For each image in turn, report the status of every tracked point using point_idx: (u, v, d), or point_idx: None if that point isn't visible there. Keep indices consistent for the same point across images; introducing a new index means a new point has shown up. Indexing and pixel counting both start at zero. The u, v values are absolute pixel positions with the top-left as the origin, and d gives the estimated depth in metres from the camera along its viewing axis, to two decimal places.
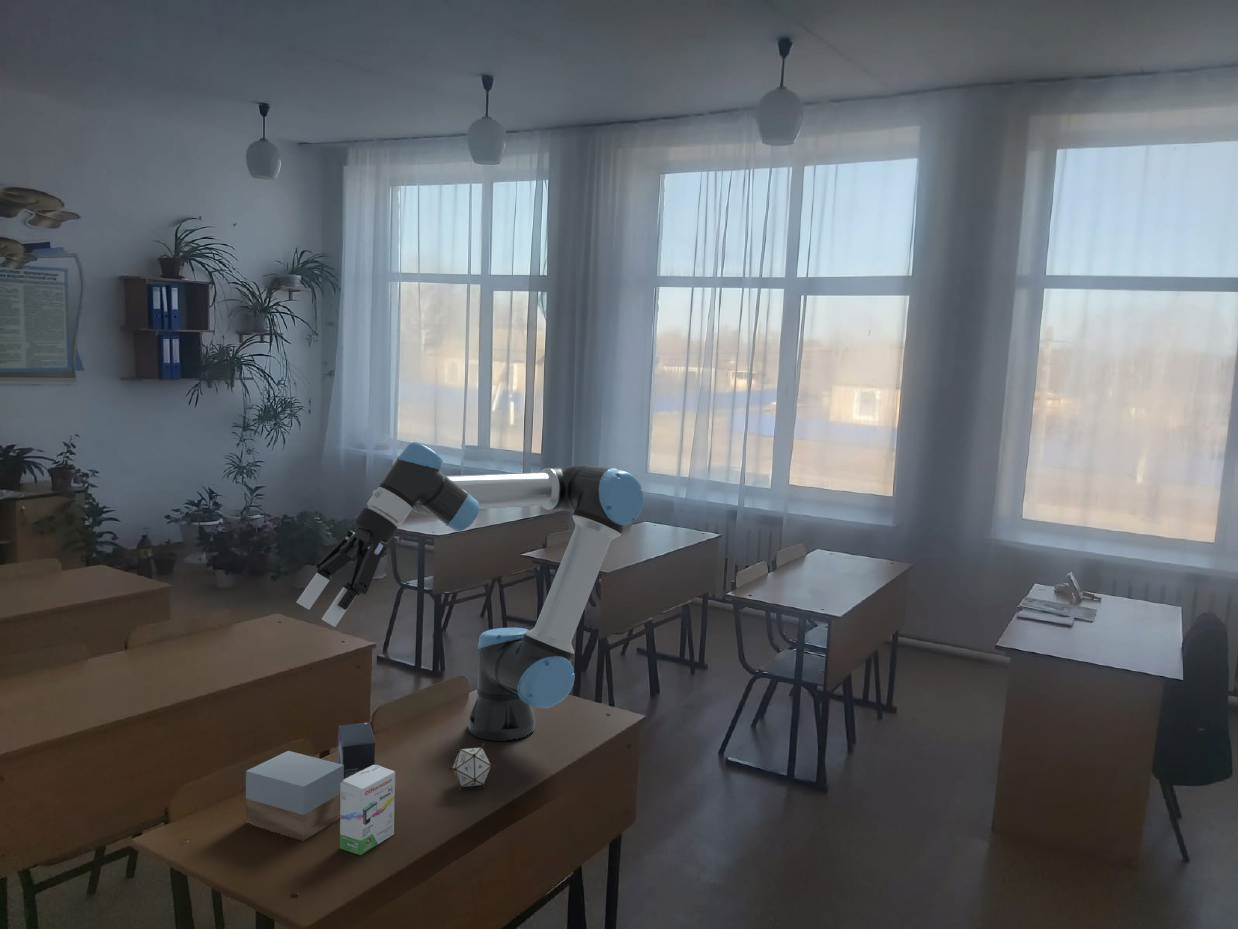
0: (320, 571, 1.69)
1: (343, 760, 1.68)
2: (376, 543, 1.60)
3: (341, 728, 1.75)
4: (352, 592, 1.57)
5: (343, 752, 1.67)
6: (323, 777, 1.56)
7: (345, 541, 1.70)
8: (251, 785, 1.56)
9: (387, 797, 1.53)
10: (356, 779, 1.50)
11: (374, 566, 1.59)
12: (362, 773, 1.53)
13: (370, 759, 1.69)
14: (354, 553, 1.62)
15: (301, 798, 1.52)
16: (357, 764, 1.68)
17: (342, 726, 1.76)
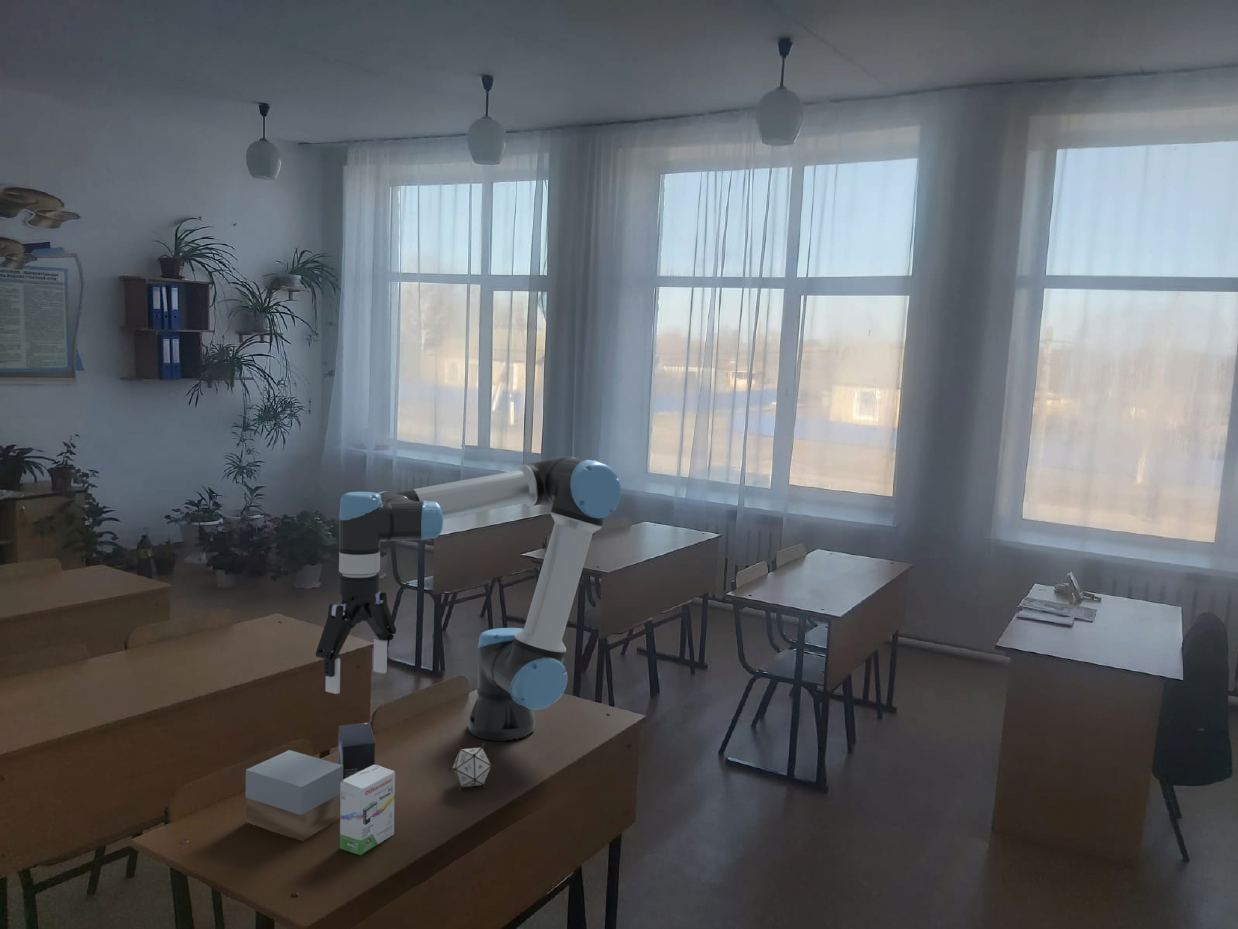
0: (377, 636, 1.78)
1: (343, 760, 1.68)
2: (329, 607, 1.65)
3: (341, 728, 1.75)
4: (326, 659, 1.64)
5: (343, 752, 1.67)
6: (322, 778, 1.55)
7: (375, 603, 1.76)
8: (250, 783, 1.56)
9: (387, 797, 1.53)
10: (356, 779, 1.50)
11: (332, 629, 1.63)
12: (362, 773, 1.53)
13: (370, 759, 1.69)
14: None
15: (299, 798, 1.51)
16: (357, 764, 1.68)
17: (342, 726, 1.76)
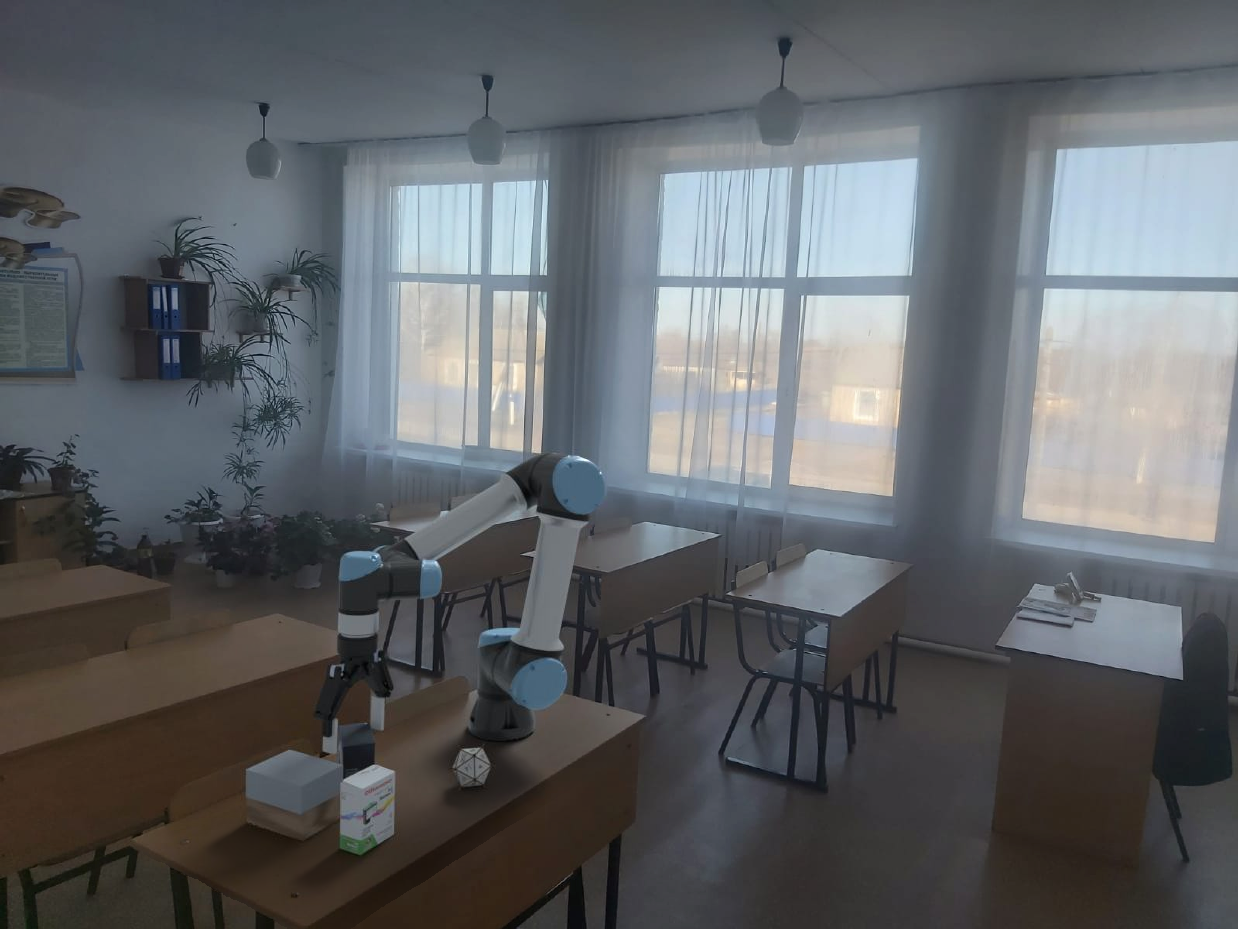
0: (375, 693, 1.79)
1: (343, 760, 1.68)
2: (328, 667, 1.66)
3: (341, 728, 1.75)
4: (323, 720, 1.65)
5: (343, 752, 1.67)
6: (322, 777, 1.56)
7: None
8: (250, 783, 1.56)
9: (387, 797, 1.53)
10: (356, 779, 1.50)
11: (330, 690, 1.64)
12: (362, 773, 1.53)
13: (370, 759, 1.69)
14: None
15: (299, 797, 1.52)
16: (357, 764, 1.68)
17: (342, 726, 1.76)
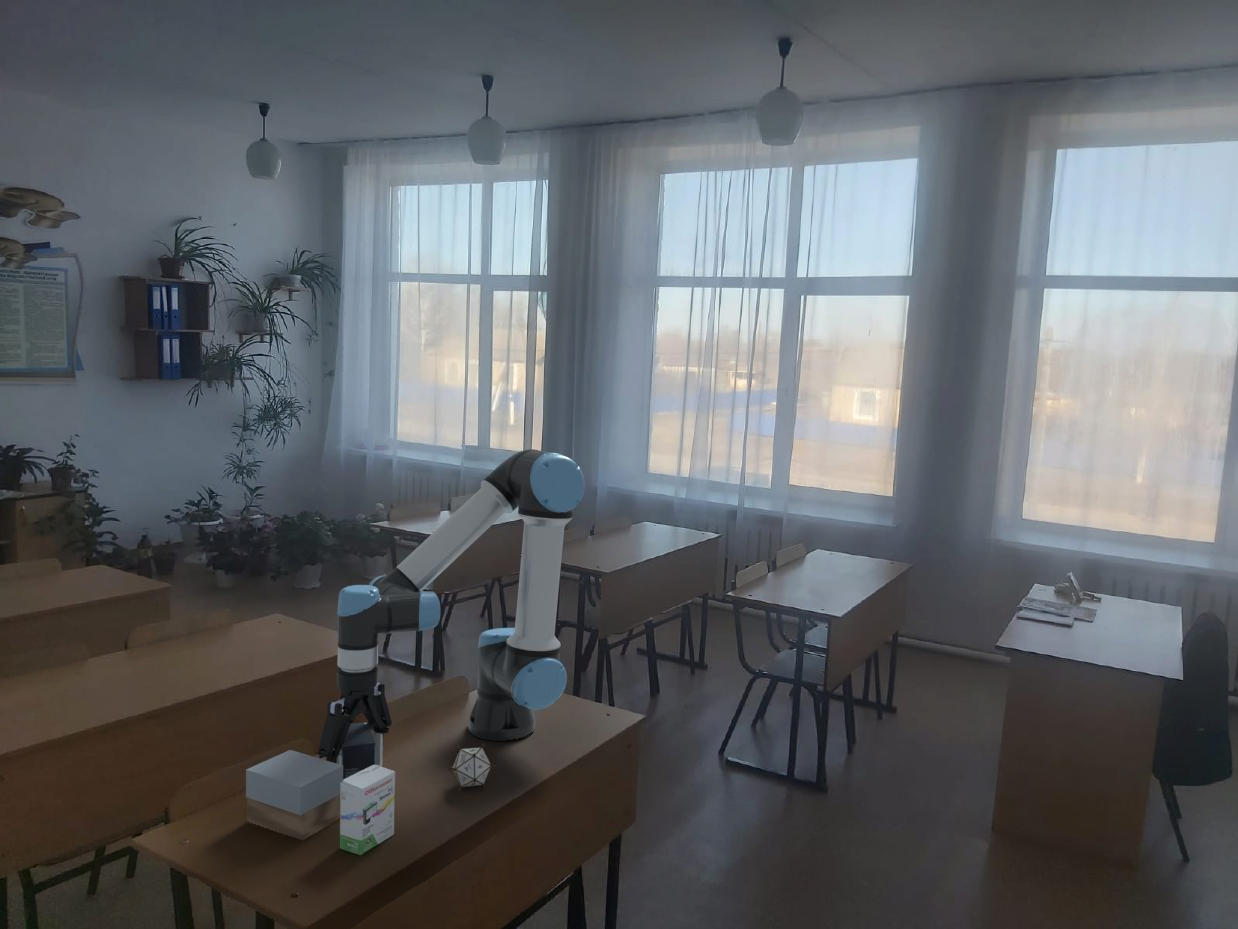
0: (373, 729, 1.79)
1: (343, 760, 1.67)
2: (328, 705, 1.67)
3: None
4: (328, 757, 1.66)
5: (343, 752, 1.67)
6: (321, 778, 1.55)
7: (373, 694, 1.78)
8: (250, 783, 1.56)
9: (387, 797, 1.53)
10: (356, 779, 1.50)
11: (332, 727, 1.66)
12: (362, 773, 1.53)
13: (370, 759, 1.69)
14: None
15: (298, 798, 1.51)
16: (357, 763, 1.68)
17: None
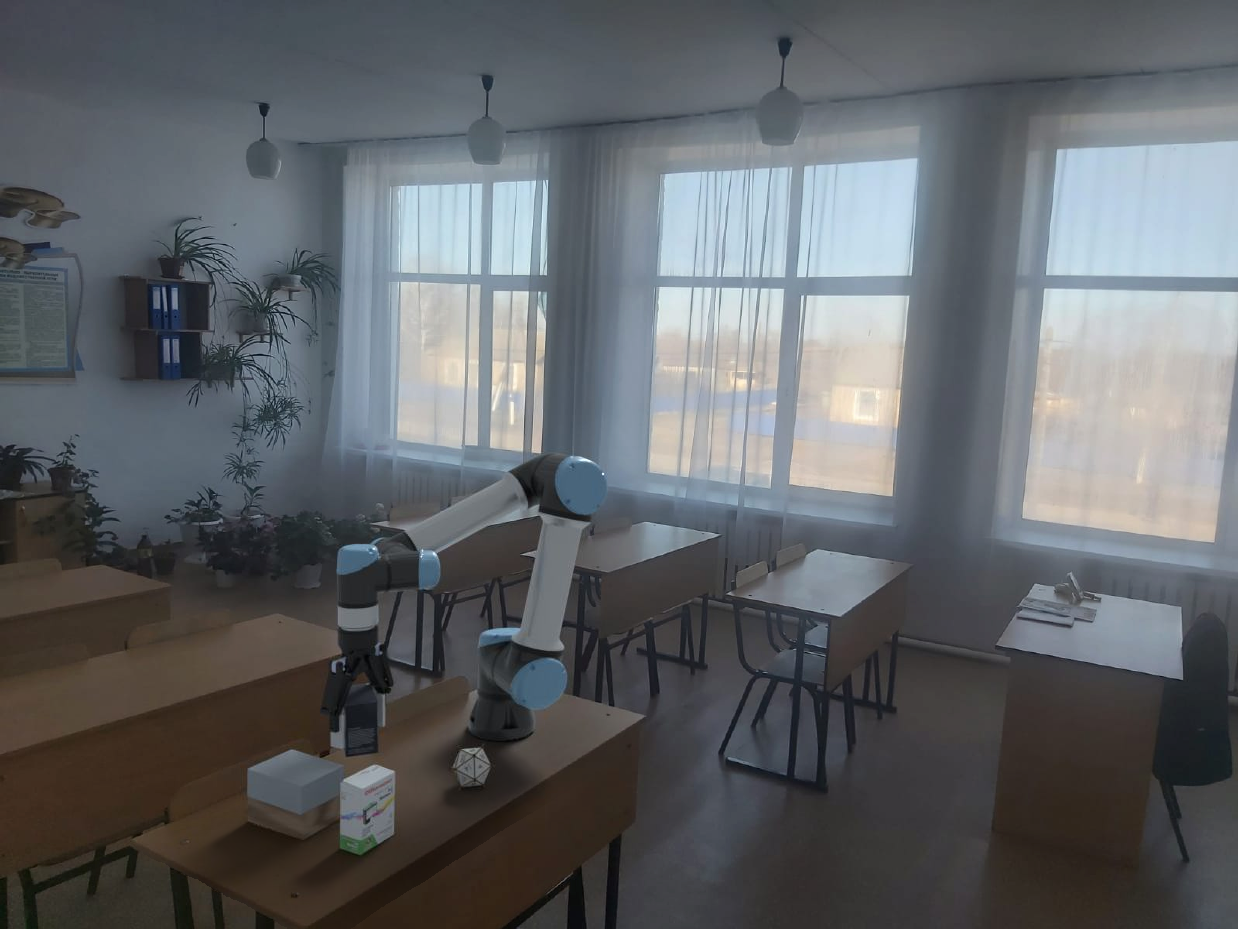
0: (375, 690, 1.79)
1: (346, 719, 1.67)
2: (329, 663, 1.66)
3: None
4: (330, 716, 1.66)
5: (345, 711, 1.67)
6: (322, 778, 1.56)
7: (374, 654, 1.77)
8: (252, 782, 1.57)
9: (387, 797, 1.53)
10: (356, 779, 1.50)
11: (334, 686, 1.65)
12: (362, 773, 1.53)
13: (373, 718, 1.69)
14: None
15: (299, 798, 1.52)
16: (360, 723, 1.68)
17: None
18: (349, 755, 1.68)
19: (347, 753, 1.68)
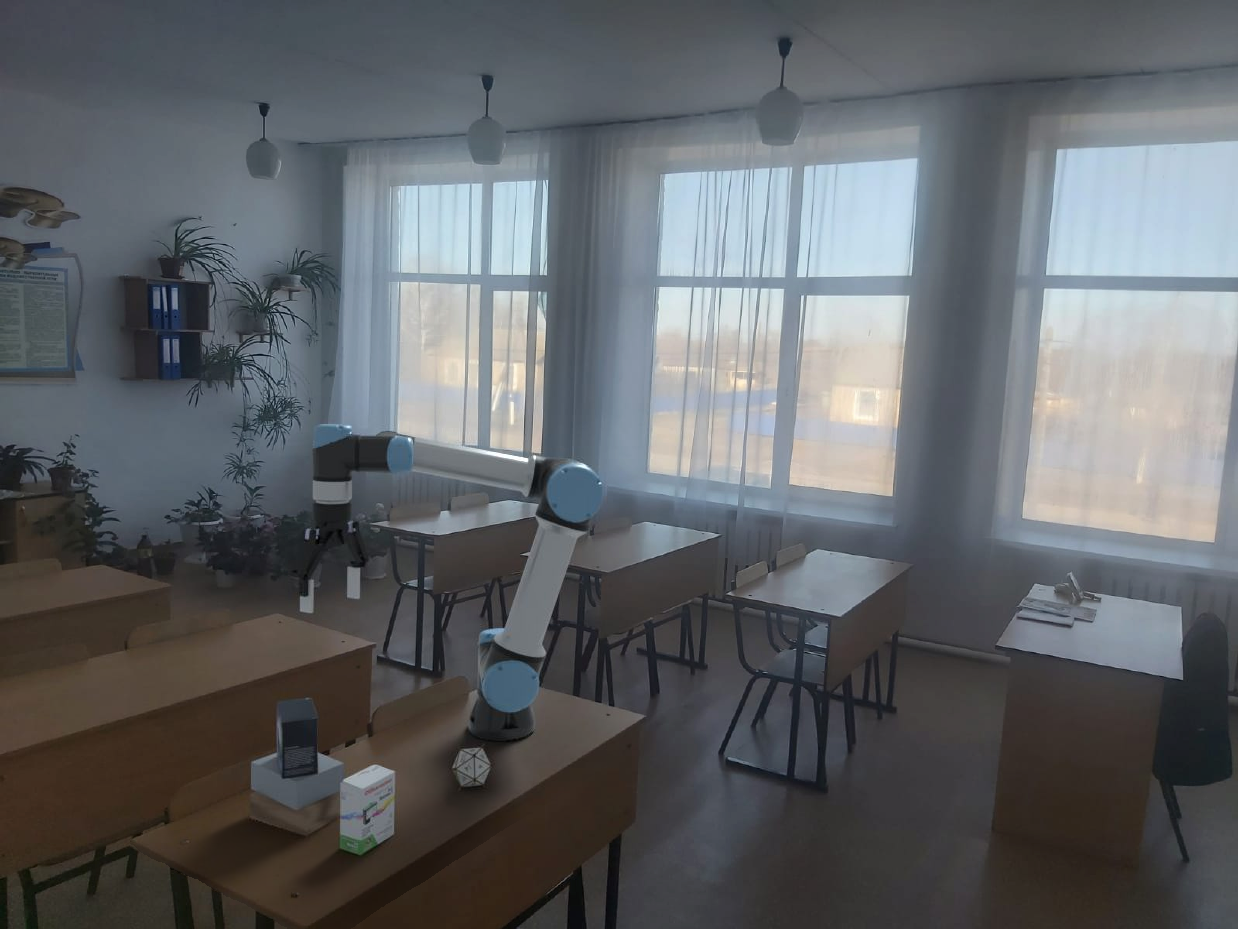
0: (351, 564, 1.87)
1: (282, 737, 1.53)
2: (303, 530, 1.74)
3: (279, 704, 1.61)
4: (300, 580, 1.73)
5: (282, 729, 1.53)
6: (320, 774, 1.57)
7: (348, 531, 1.86)
8: (255, 776, 1.60)
9: (387, 797, 1.53)
10: (356, 779, 1.50)
11: (305, 551, 1.73)
12: (362, 773, 1.53)
13: (313, 736, 1.55)
14: None
15: (295, 793, 1.53)
16: (298, 741, 1.54)
17: (281, 702, 1.62)
18: (285, 777, 1.54)
19: (283, 774, 1.54)
